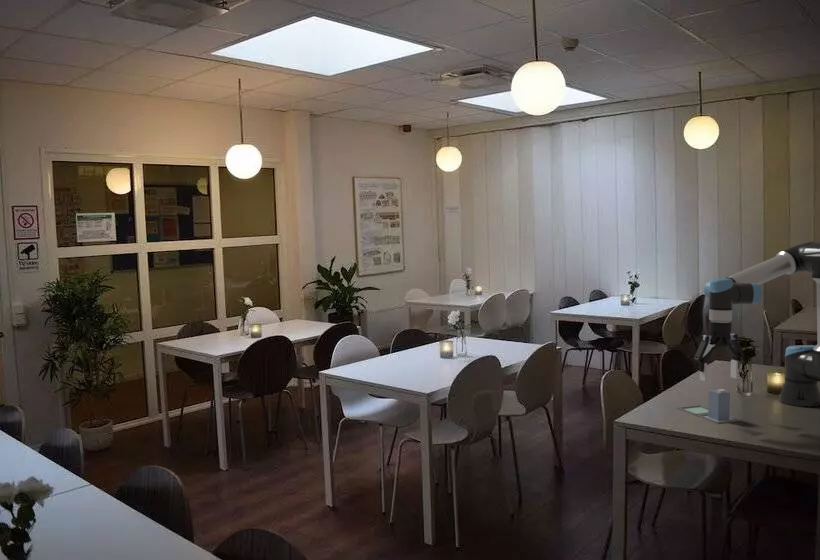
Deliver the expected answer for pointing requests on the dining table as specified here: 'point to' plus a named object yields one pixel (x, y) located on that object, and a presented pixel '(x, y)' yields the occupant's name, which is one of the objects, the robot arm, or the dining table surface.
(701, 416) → the dock
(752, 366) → the dining table surface
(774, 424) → the dining table surface
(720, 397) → the blue rectangular block
